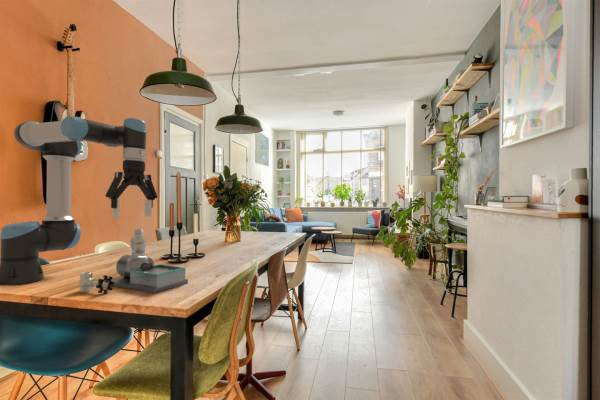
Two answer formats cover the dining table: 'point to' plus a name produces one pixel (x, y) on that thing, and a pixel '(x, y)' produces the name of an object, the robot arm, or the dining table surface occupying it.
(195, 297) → the dining table surface
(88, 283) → the valve
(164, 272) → the motor stand
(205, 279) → the dining table surface
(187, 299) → the dining table surface
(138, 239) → the plastic bottle
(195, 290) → the dining table surface
